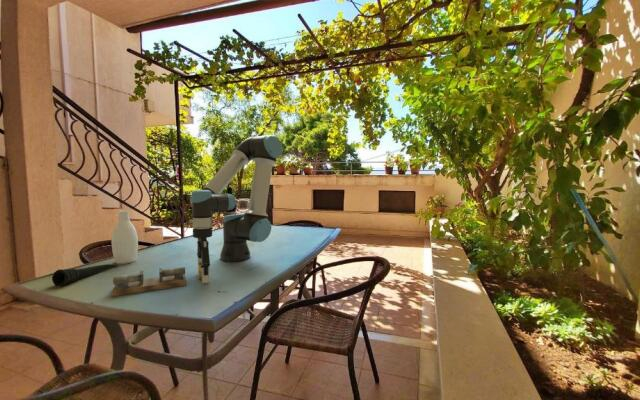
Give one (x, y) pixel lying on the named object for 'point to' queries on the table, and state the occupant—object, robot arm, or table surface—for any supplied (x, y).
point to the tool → (77, 273)
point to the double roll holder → (149, 281)
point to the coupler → (200, 270)
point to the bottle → (124, 240)
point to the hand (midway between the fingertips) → (203, 277)
